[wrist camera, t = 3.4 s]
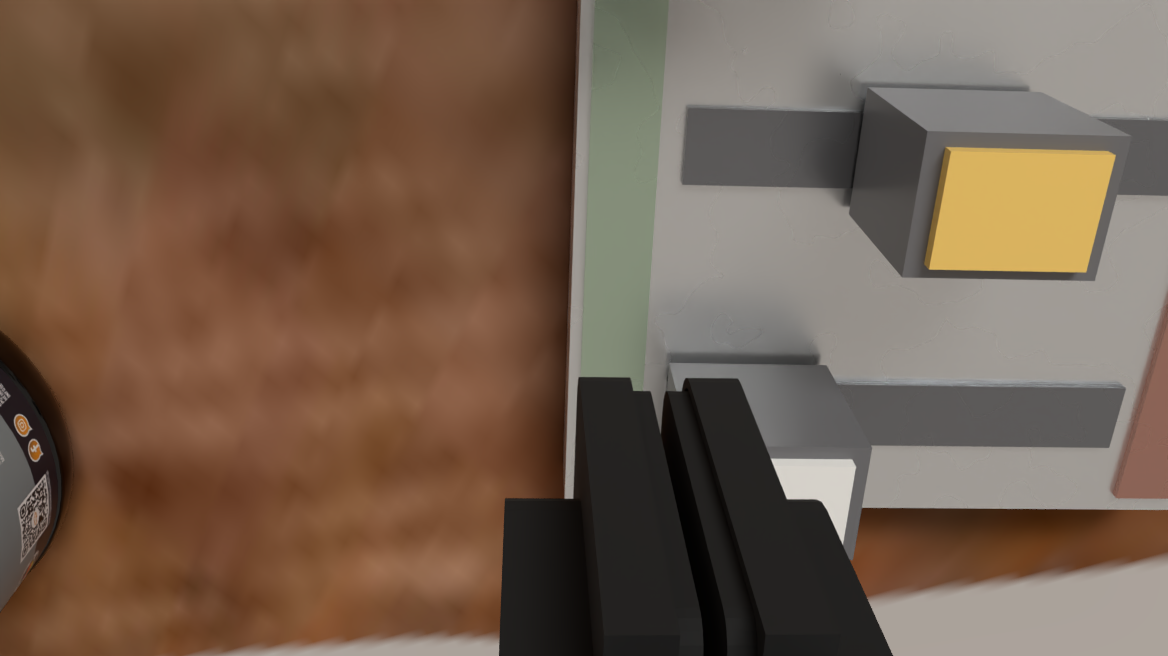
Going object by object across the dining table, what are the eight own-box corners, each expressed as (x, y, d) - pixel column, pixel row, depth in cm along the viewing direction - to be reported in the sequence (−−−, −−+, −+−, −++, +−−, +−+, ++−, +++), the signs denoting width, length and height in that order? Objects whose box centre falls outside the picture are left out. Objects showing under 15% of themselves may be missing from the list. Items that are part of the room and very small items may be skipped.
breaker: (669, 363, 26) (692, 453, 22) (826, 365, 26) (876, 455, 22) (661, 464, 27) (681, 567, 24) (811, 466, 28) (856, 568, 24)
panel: (588, -355, 22) (594, -376, 20) (1374, -317, 23) (1455, -333, 21) (563, 465, 30) (564, 509, 28) (1137, 470, 31) (1178, 514, 29)
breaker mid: (867, 87, 23) (933, 134, 20) (1041, 92, 24) (1140, 140, 20) (848, 214, 25) (906, 283, 21) (1013, 218, 25) (1101, 286, 21)
